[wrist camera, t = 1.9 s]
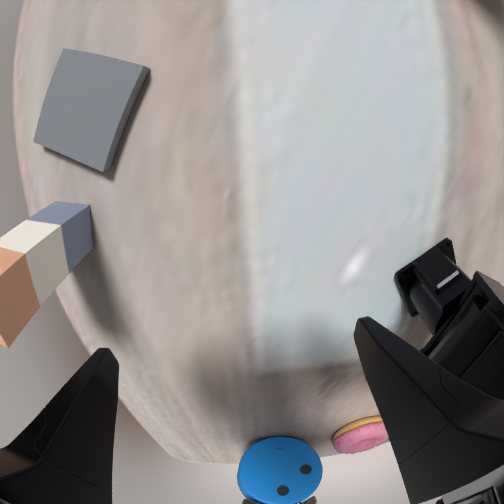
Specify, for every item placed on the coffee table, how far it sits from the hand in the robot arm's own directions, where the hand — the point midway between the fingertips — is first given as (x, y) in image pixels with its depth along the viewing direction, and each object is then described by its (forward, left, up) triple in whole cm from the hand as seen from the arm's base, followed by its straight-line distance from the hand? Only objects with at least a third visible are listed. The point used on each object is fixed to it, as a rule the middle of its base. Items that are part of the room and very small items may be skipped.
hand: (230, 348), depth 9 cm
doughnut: (-42, +6, -13) cm, 44 cm away
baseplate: (+15, +4, -12) cm, 20 cm away
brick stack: (+9, +12, -12) cm, 19 cm away
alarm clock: (-35, +19, -12) cm, 42 cm away
